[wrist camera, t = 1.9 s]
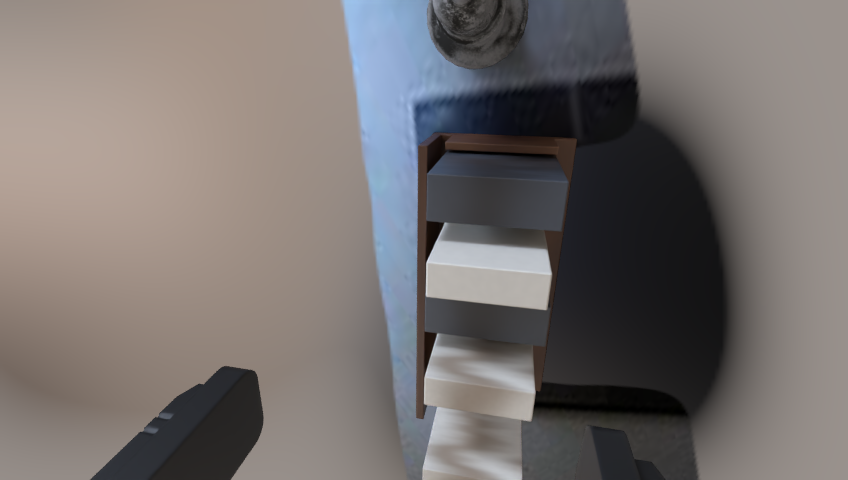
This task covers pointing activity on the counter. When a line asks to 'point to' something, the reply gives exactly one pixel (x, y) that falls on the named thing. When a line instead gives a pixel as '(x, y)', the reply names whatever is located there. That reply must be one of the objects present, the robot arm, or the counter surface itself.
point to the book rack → (478, 322)
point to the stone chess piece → (476, 29)
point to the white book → (490, 266)
